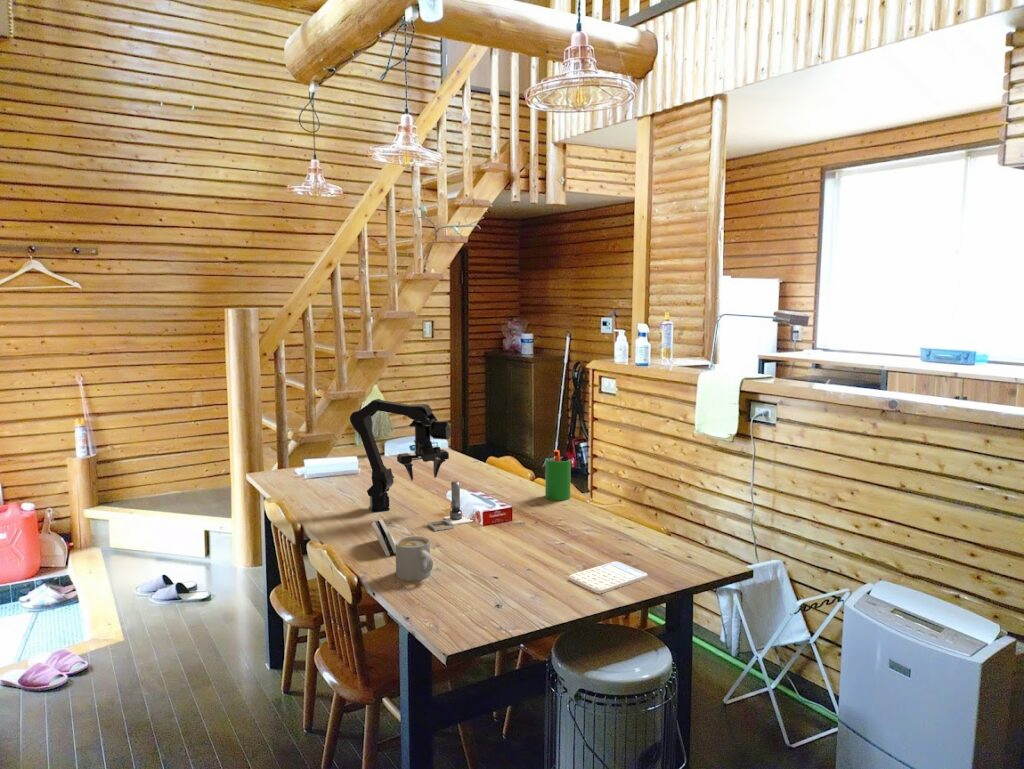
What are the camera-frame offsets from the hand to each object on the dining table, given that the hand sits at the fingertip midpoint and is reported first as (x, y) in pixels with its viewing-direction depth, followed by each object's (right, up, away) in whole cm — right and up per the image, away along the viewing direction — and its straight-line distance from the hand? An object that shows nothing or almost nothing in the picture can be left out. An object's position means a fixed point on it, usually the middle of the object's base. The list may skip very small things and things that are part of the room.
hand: (423, 479), depth 266 cm
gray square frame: (+8, -15, -15) cm, 23 cm away
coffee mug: (+5, -21, -59) cm, 63 cm away
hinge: (-8, -18, -35) cm, 40 cm away
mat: (+14, -14, -7) cm, 21 cm away
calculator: (+61, -21, -61) cm, 89 cm away
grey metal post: (+13, -13, -7) cm, 20 cm away
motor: (+52, -11, +21) cm, 57 cm away
